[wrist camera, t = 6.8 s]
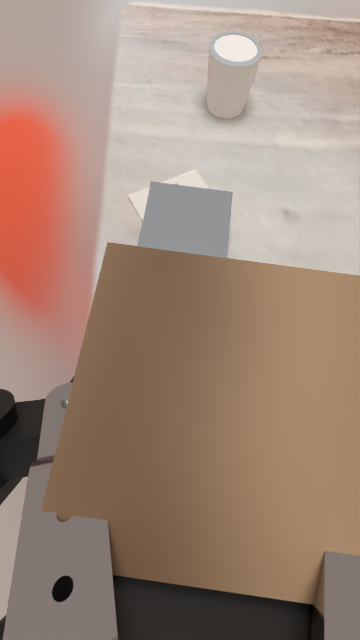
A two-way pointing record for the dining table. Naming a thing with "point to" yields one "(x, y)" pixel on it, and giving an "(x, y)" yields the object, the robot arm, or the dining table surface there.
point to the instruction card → (184, 179)
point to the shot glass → (231, 72)
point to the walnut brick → (216, 421)
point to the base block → (186, 220)
